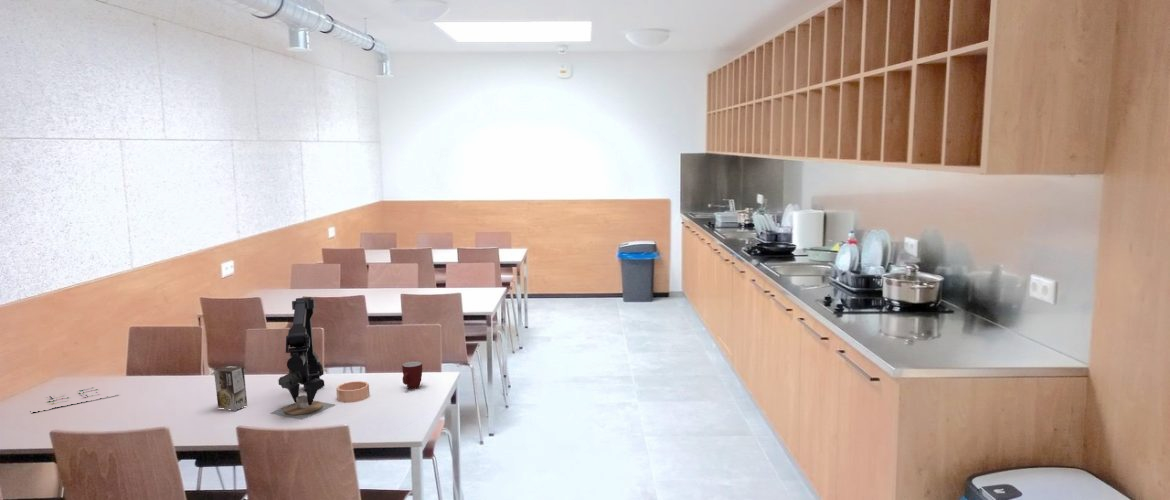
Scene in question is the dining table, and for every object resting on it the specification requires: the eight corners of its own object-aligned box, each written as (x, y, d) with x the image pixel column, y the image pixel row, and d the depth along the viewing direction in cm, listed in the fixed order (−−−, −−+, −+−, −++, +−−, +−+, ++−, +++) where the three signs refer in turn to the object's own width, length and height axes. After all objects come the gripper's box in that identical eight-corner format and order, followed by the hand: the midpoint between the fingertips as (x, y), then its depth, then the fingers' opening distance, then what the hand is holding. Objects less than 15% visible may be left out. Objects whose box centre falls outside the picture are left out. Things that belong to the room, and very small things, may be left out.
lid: (275, 412, 282) (274, 400, 281) (304, 400, 294) (303, 389, 293) (302, 417, 275) (301, 404, 275) (330, 405, 288) (329, 393, 287)
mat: (269, 415, 281) (269, 413, 281) (305, 401, 296) (305, 399, 296) (302, 422, 273) (301, 419, 273) (336, 407, 288) (336, 404, 288)
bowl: (331, 402, 294) (330, 388, 294) (353, 392, 305) (352, 379, 304) (353, 406, 289) (352, 392, 288) (375, 396, 299) (374, 383, 299)
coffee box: (248, 406, 293) (244, 366, 291) (235, 411, 287) (231, 371, 285) (230, 404, 296) (226, 364, 294) (217, 409, 290) (213, 369, 288)
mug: (415, 392, 303) (413, 369, 301) (397, 391, 304) (395, 368, 303) (426, 384, 313) (425, 361, 311) (409, 383, 315) (407, 361, 313)
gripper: (265, 367, 279) (268, 407, 282) (300, 372, 271) (304, 414, 273) (288, 359, 289) (292, 398, 291) (323, 364, 281) (327, 404, 283)
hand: (303, 403), depth 284 cm, fingers open, 7 cm apart
